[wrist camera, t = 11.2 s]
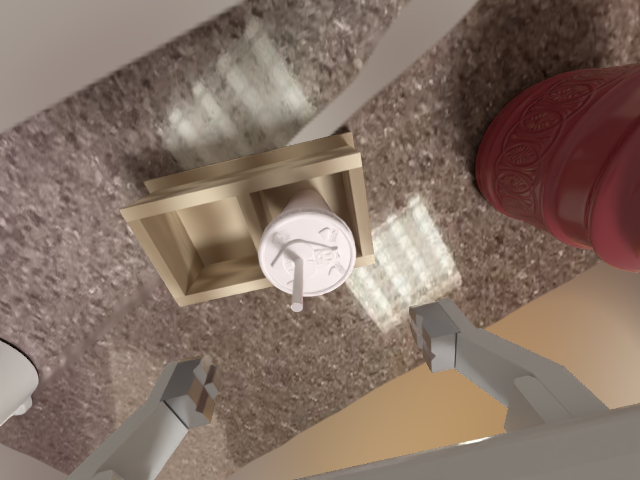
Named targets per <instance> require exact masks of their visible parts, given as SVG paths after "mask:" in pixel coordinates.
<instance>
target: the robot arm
mask: <svg viewBox="0 0 640 480" xmlns="http://www.w3.org/2000/svg"><path fill="white" fill-rule="evenodd" d="M409 314H410V316H411V318H412V320H411V322H410V327H411V332H412V335H413V338H414V340H415V342H416V344H417V346H418V347H419V348H421V349H422V350H423V357H424V359H425V361H426V363H427V365H428V367H429V369H430V370H431V372H432V373H434V372H439V371H444V370H449V369H454V368H455V370H457V371H458V372H459V373H461V374H462V375H464V376H465V377H466V378H468V379H469V380H470V381H472V382H473V383H475V384H476V385H477V386H478V387H480V388H481V389H483V390H484V391H485V392H487V393H488V394H489V395H491V396H492V397H493V398H495V399H496V400H498V401H499V402H500V403H502V404H503V405H504V406H506V407H507V408H508V410H507V415H506V419H505V423H504V429H505V430H506V432H507V433H503V434H498V435H494V436H489V437H485V438H480V439H476V440H471V441H466V442H462V443H457V444H453V445H449V446H444V447H439V448H435V449H430V450H426V451H421V452H417V453H412V454H408V455H403V456H399V457H394V458H390V459H386V460H381V461H376V462H372V463H367V464H363V465H358V466H353V467H349V468H345V469H340V470H335V471H331V472H326V473H322V474H317V475H313V476H308V477H304V478H300V479H295V480H640V403H638V404H633V405H629V406H624V407H620V408H616V409H611V410H610V409H609V408H608V407H607V406H606V405H605V404H604V403H602V401H600V400H599V399H598V398H597V397H596V396H595V395H594V394H593V393H592V392H591V391H590V390H589V389H587V387H585V386H584V385H583V384H582V383H581V382H580V381H579V380H578V379H577V378H576V377H575V376H573V374H572V373H570V372H569V371H568V370H567V369H566V368H565V367H564V366H562V365H560V364H558V363H556V362H553V361H551V360H549V359H547V358H544V357H543V356H540V355H538V354H536V353H534V352H531V351H530V350H527V349H525V348H523V347H521V346H519V345H516V344H514V343H512V342H510V341H508V340H505V339H503V338H501V337H499V336H497V335H495V334H492V333H490V332H488V331H486V330H484V329H482V328H478V329H476V328H475V327H474V325H473V324H472V323H471V322H470V321H469V320H468V318H467V317H466V316H465V315H464V314H463V313H462V311H461V310H460V309H459V308H458V307H457V306H456V304H455V303H454V302H453V301H452V300H451V299H450V298H444V299H439V300H435V301H431V302H427V303H423V304H419V305H415V306H411V307H410V308H409ZM211 362H212V359H211V358H210V356H209V355H201V356H197V357H192V358H187V359H182V360H178V361H173V362H169V363H168V364H167V365H166V366H165V367H164V369H163V371H162V373H161V375H160V377H159V379H158V380H157V382H156V384H155V386H154V388H153V390H152V392H151V394H150V396H149V398H148V400H147V401H146V403H145V405H144V406H140V407H139V408H138V409H137V410H136V411H135V412H134V413H133V414H132V415H131V416H130V417H129V418H128V419H127V420H126V421H125V422H124V423H123V424H122V425H121V426H120V427H119V428H118V429H117V430H116V431H114V432H113V433H112V434H111V435H110V436H109V437H108V438H107V439H106V440H105V441H104V442H103V443H102V444H101V445H100V446H99V447H98V448H97V449H96V450H95V451H94V452H93V453H92V454H91V455H90V456H89V457H88V458H87V459H86V460H85V461H84V462H83V463H81V464H80V465H79V466H78V467H77V468H76V469H75V470H74V471H73V472H72V473H71V474H70V475H69V476H68V477H67V478H66V480H154V479H155V478H156V476H157V475H158V473H159V472H160V470H161V469H162V468H163V466H164V465H165V463H166V462H167V460H168V459H169V458H170V456H171V455H172V453H173V452H174V450H175V449H176V447H177V446H178V445H179V443H180V442H181V440H182V439H183V437H184V436H185V435H186V433H187V432H188V429H190V428H194V427H198V426H202V425H206V424H209V423H211V419H212V416H213V412H214V409H215V405H216V404H215V402H214V398H215V397H216V395H217V394H218V393H219V390H220V386H221V375H220V372H219V370H218V368H217V367H215V366H213V365H211ZM37 385H38V374H37V372H36V370H35V368H34V366H33V365H32V364H31V363H30V361H29V360H28V359H27V358H26V357H25V356H23V355H22V354H21V353H20V352H18V351H17V350H16V349H14V348H12V347H11V346H9V345H7V344H6V343H4V342H2V341H0V426H1V425H2V424H3V423H4V422H5V421H6V420H7V419H8V418H10V417H11V416H12V415H21V414H23V413H25V412H26V411H27V410H28V409H29V408H30V407H31V406H32V399H31V395H32V393H33V392H34V390H35V389H36V387H37Z"/></svg>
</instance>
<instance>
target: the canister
mask: <svg viewBox="0 0 640 480" xmlns="http://www.w3.org/2000/svg"><path fill="white" fill-rule="evenodd" d="M475 177H476V182H477V186H478V188H479V191H480V193H481V194H482V196H483V197H484V198H485V199H486V200H487V201H488V202H489V203H490V204H491V205H492V206H493V207H494V208H495V209H496V210H498V211H499V212H501V213H503V214H505V215H507V216H509V217H511V218H514V219H518V220H522V221H524V222H526V223H529V224H531V225H533V226H535V227H537V228H539V229H541V230H543V231H545V232H548V233H550V234H552V235H553V236H554V237H555V238H557V239H558V240H559V241H561V242H563V243H565V244H567V245H570V246H572V247H577V248H582V249H593V250H594V251H595V253H596V254H597V256H598V257H599V258H600V259H601V260H603V261H604V262H605V263H607V264H608V265H610V266H612V267H614V268H617V269H620V270H624V271H629V272H640V63H635V64H628V65H622V66H615V67H609V68H603V69H600V68H585V69H579V70H574V71H568V72H564V73H561V74H558V75H555V76H552V77H550V78H548V79H546V80H543V81H540V82H538V83H536V84H534V85H532V86H530V87H528V88H526V89H525V90H523V91H522V92H520V93H519V94H518V95H516V96H515V97H514V98H513V99H512V100H510V101H509V102H508V103H507V104H506V105H505V106H504V107H503V108H502V109H501V110H500V112H499V113H498V114H497V115H496V117H495V118H494V119H493V121H492V122H491V124H490V125H489V127H488V129H487V130H486V132H485V134H484V136H483V138H482V141H481V143H480V146H479V149H478V152H477V157H476V163H475Z"/></svg>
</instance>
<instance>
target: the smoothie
mask: <svg viewBox="0 0 640 480" xmlns="http://www.w3.org/2000/svg"><path fill="white" fill-rule="evenodd" d="M258 258H259V264H260V267H261V269H262V272H263V273H264V275H265V276H266V278H267V279H268V280H269V281H270V282H271V283H272V284H273V285H274V286H276V287H277V288H279V289H280V290H282V291H284V292H286V293H289V294H292V304H291V309H292V310H293V311H295V312H299V311H301V310H302V308H303V296H317V295H321V294H325V293H328V292H330V291H332V290H334V289H335V288H337V287H338V286H340V285H341V284H342V283H343V282H344V281H345V280H346V279H347V278H348V277H349V275H350V274H351V272H352V270H353V268H354V265H355V261H356V248H355V241H354V238H353V235H352V232H351V230H350V229H349V227H348V226H347V225H346V223H345V222H344V221H343V220H342V219H341V218H339V217H338V216H337V215H336V214H334V213H333V212H332V210H331V209H330V207H329V206H328V204H327V203H326V201H325V200H324V198H323V197H322V196H321V195H320V194H319V193H318V192H316V191H314V190H309V189H306V190H301V191H298V192H297V193H295V194H294V195H293V196H292V198H291V199H290V201H289V202H288V204H287V205H286V207H285V208H284V210H283V211H282V213H281V214H280V215H278V216H277V217H275V218H274V219H273V220H272V221H271V222H270V223H269V225H268V226H267V227H266V228H265V230H264V232H263V235H262V237H261V240H260V246H259V251H258Z"/></svg>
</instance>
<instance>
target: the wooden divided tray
mask: <svg viewBox="0 0 640 480" xmlns="http://www.w3.org/2000/svg"><path fill="white" fill-rule="evenodd" d="M144 184H145V186H146V187H147V189H148V191H149V193H150V194H149V195H147V196H145V197H143V198H141V199H139V200H137V201H135V202H133V203H131V204H129V205H127V206H126V207H124V208H122V209H120V210H119V211H120V212H121V214H122V215H123V217H124V219H125V220H126V222H127V223H128V225H129V227H130V228H131V230H132V231H133V233H134V235H135V236H136V238H137V239H138V241H139V243H140V244H141V246H142V247H143V249H144V250H145V252H146V254H147V255H148V257H149V258H150V260H151V262H152V263H153V265H154V266H155V268H156V270H157V271H158V273H159V274H160V276H161V278H162V279H163V281H164V282H165V284H166V286H167V287H168V289H169V290H170V292H171V294H172V295H173V297H174V298H175V300H176V302H177V303H178V305H179V306H185V305H189V304H194V303H198V302H203V301H208V300H212V299H217V298H221V297H226V296H230V295H235V294H239V293H244V292H248V291H253V290H257V289H262V288H266V287H271V286H274V285H273V284H272V283H271V282H270V281H269V280H268V279H267V278H266V276H265V275H264V273H263V272H262V269H261V267H260V264H259V258H258V251H259V246H260V240H261V237H262V235H263V232H264V230H265V228H266V227H267V226H268V225H269V223H270V222H271V221H272V220H273V219H274V218H275V217H277V216H278V215H280V214H281V213H282V211H283V210H284V208H285V207H286V205H287V204H288V202H289V201H290V199H291V198H292V196H293V195H294V194H295V193H297V192H298V191H301V190H306V189H309V190H314V191H316V192H318V193H319V194H320V195H321V196H322V197H323V198H324V200H325V201H326V203H327V204H328V206H329V207H330V209H331V210H332V212H333V213H334V214H336V215H337V216H338V217H339V218H341V219H342V220H343V221H344V222H345V223H346V225H347V226H348V227H349V229H350V230H351V232H352V235H353V238H354V241H355V248H356V261H355V265H354V268H357V267H361V266H366V265H370V264H375V258H374V250H373V243H372V236H371V228H370V221H369V213H368V206H367V199H366V191H365V184H364V177H363V169H362V162H361V155H360V152H358V151H357V150H355V149H354V142H353V135H352V132H351V131H349V132H345V133H341V134H336V135H332V136H328V137H324V138H320V139H316V140H312V141H308V142H303V143H300V144H295V145H291V146H287V147H283V148H278V149H274V150H270V151H266V152H262V153H258V154H253V155H249V156H245V157H241V158H237V159H233V160H229V161H224V162H220V163H216V164H212V165H208V166H204V167H200V168H195V169H191V170H187V171H183V172H179V173H175V174H171V175H166V176H162V177H158V178H154V179H150V180H147V181H145V182H144Z"/></svg>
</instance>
